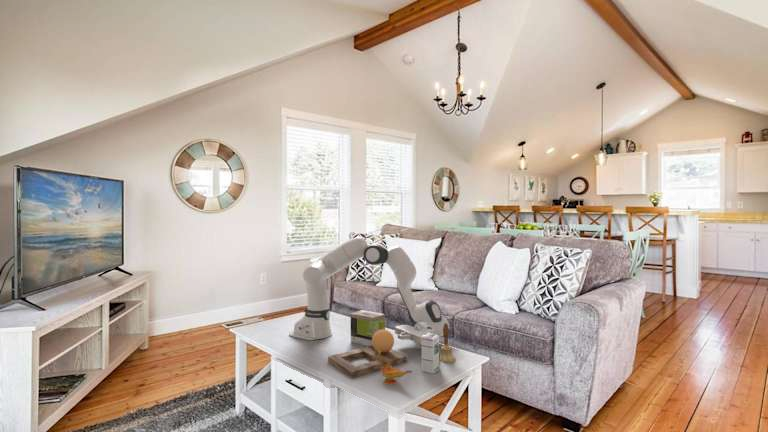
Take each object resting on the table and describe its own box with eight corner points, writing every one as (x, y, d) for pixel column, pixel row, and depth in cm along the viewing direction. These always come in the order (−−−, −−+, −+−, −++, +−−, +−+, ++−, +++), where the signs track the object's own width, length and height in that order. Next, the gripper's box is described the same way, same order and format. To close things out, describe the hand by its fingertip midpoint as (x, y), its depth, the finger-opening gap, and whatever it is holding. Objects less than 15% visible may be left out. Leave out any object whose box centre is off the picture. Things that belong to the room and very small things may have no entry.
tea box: (385, 342, 197) (385, 313, 197) (373, 348, 189) (373, 318, 189) (362, 336, 206) (362, 308, 206) (349, 342, 198) (349, 313, 198)
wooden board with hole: (379, 348, 189) (379, 343, 189) (406, 361, 173) (406, 356, 173) (328, 362, 173) (328, 356, 173) (352, 378, 157) (352, 372, 156)
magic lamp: (405, 393, 144) (405, 363, 144) (370, 378, 156) (370, 351, 156) (417, 386, 149) (417, 358, 149) (382, 373, 161) (382, 346, 161)
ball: (368, 354, 175) (368, 332, 175) (376, 346, 184) (376, 325, 184) (389, 357, 172) (389, 334, 171) (396, 349, 181) (396, 327, 181)
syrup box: (434, 374, 161) (434, 338, 160) (421, 370, 164) (421, 336, 163) (439, 369, 165) (440, 334, 165) (427, 366, 169) (427, 332, 168)
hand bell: (444, 364, 171) (444, 327, 170) (433, 357, 178) (433, 322, 178) (459, 360, 175) (459, 324, 174) (448, 354, 182) (448, 319, 182)
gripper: (408, 320, 199) (386, 325, 191) (436, 330, 183) (413, 336, 174) (408, 332, 199) (386, 338, 191) (436, 344, 183) (413, 350, 175)
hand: (399, 337), depth 183 cm, fingers closed
